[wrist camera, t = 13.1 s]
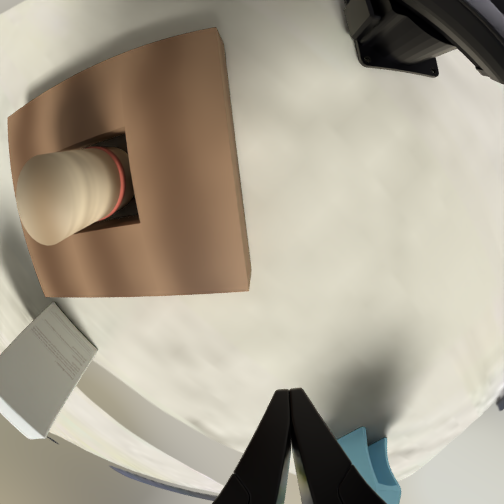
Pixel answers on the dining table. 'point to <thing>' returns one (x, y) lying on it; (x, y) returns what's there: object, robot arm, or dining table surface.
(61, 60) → the dining table surface
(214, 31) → the walnut board
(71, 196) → the beech peg
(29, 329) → the supplement box
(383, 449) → the vase
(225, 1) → the dining table surface
